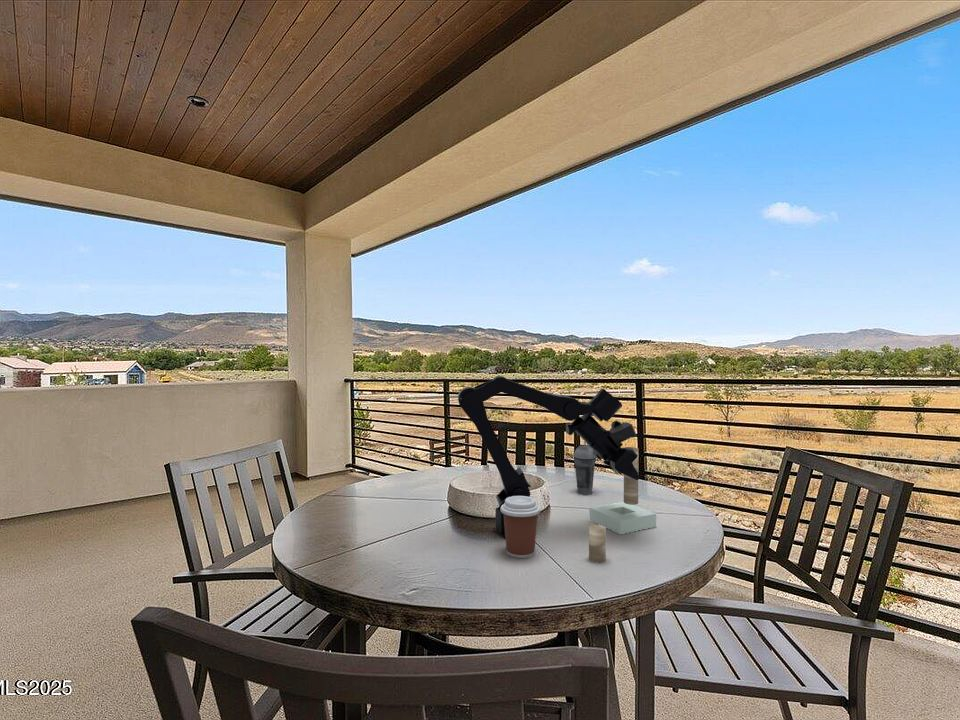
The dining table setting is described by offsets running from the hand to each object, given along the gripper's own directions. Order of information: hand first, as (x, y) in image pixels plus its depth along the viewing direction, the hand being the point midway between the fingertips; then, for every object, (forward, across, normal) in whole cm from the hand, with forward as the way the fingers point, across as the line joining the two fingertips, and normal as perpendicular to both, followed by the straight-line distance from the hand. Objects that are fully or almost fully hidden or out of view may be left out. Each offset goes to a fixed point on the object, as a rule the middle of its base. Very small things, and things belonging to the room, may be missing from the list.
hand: (636, 476), depth 128 cm
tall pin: (+4, 0, +6) cm, 7 cm away
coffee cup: (-13, -13, +32) cm, 37 cm away
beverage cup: (+7, +34, +12) cm, 37 cm away
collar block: (+8, +4, +11) cm, 14 cm away
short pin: (-2, -18, +21) cm, 27 cm away
